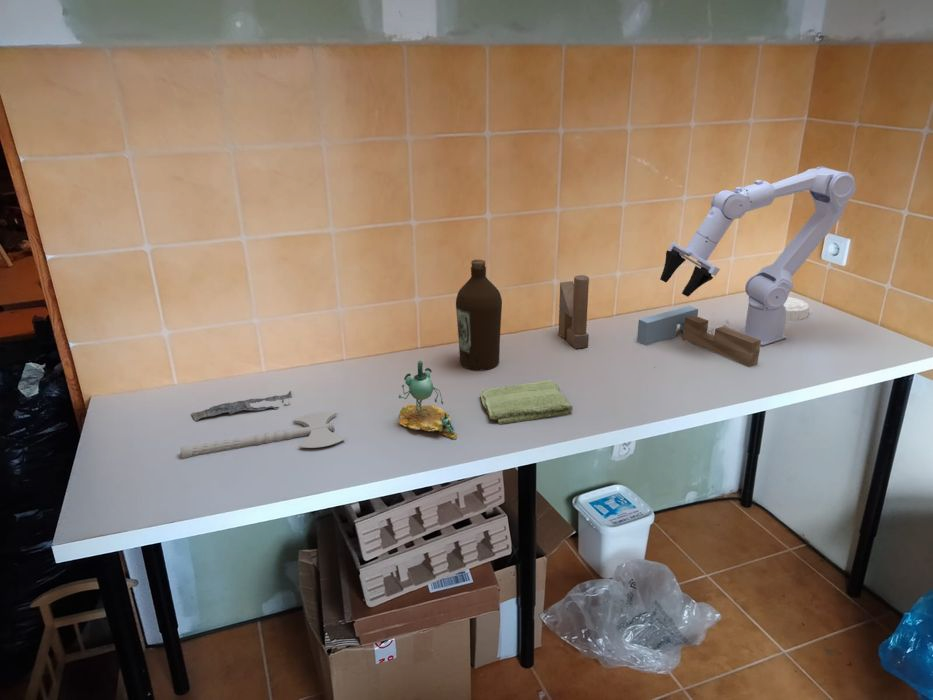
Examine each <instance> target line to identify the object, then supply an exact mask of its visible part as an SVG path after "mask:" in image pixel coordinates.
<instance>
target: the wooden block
mask: <svg viewBox="0 0 933 700" xmlns="http://www.w3.org/2000/svg"><path fill="white" fill-rule="evenodd" d="M589 284H590V277H589V276H587V275H582V274H580V275H575V276H574V277H573V281H561V282H560V283H559V304H558V305H559V307H558V308H559V310H558V335H559V336H560V337H561V338H562V339H566V342H567V343H568V344H569V345H571V347H573V348H574V350H575V349H576V350H577V349H583V348H588V347H589V338H590V337H589V336H590V335H589V333H587V321H588V307H589V306H588V305H589V304H588V303H589Z"/></svg>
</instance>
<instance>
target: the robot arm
mask: <svg viewBox="0 0 933 700" xmlns="http://www.w3.org/2000/svg"><path fill="white" fill-rule="evenodd" d="M855 181H856V180H855V178H854V176H853V174H851V173H850V172H847V171H840V170H836V169H832V168H828V167H826V166H817V167H816V168H809V169H807V170H805V171H803V172H801V173H798V174H795V175H793V176H790V177H788V178H784V179H781V180H779V181H776V182H773V183H770V182H768V181H766V180H761V179H757V180H754V183H752V184H749V185H746V186H743V187H741V186H736V187H735V188H734V189H733V190H727V189H724V190H722V191H719V192H718V193H717V194H715V195H713V196H712V198H711V200H710V209H709V211H708V212H707V214H706V216H705V218H704V219H703V221H702V222H701V223H700V226H699V227H698V228H697V230H696V232H695V233H694V235H693V236H692V237H691V239H690V241H689V242H688V244H687V245H686V247H683V246H681V245H679V244H678V243H676V242H674V241H672V242H671V243H670V245H669V246H668V249H669V250H668V249H666V252H665V262H664V266H663V269H662V273H661V275H660V277H659V278H660V279H659V280H661V281H662V282H664V283H667V282H668V281H669V280H670V279H671V278H672V276H673V274H674V273H675V272H676V271H677V270H678V268H679V267H680V266H681V265H682V264H684V263H685V262H686V260H687V261H689V262H691V263H692V264H694V269H693V271H692V274H691V276H690V279H689V280H688V281H687V284H685V287H684V288H683V289H682V292H681V294H682V295H684V296H685V297H688V298H689V297H690V296H691V295H692V294H693V293H694V292H695V291H696V290H697V289H698V288H700V287H701V286H703V285H705V284H706V283H708V282H710V281H711V280H713V279H714V277H716V276H718V273H719V272H720V271H721V268H719V267H717V266H715V265H713V264H712V263H710V262H708V259H709V258H710V257H711V255H712V253H713V252H714V250H716V249H715V248H716V247H717V245H718V244H719V243H720V241H721V240H722V238H723V237H724V235H725V234H726V232H727V231H728V229H729V228H730V226H731V225H732V223H733V222H734V220H736V219H739V220H740V219H741V218H742V217H743V216H744V215H746V213H747V212H751V211H755V210H757V209H760V208H765V207H767V206H771V205H772V204H773V202H774V201H775V199H776V198H780V197H784V196H789V195H792V194H796V193H800V192H804V191H805V192H806V191H808V192H809V194H810V196H811V198H812V201H813V204H814V208H815V211H814V212H813V214H812V215H811V216H810V217H809V219H808V220H807V221H806V222H805V223H804V225H803V226H802V227H801V228H800V230H799V231H798V232H797V233H796V234H795V236H794V237H793V239H792V240H791V241H790V242H789V243H788V244H787V246H786V247H785V248H784V250H782V252H781V253H780V254H779V256H778V257H777V258H776V259H775V261H774V262H773V263H772V264H769V265H766V266H763V267H762V268H761V269H760V270H759V271H758V272H757V273H755V274H753V275H752V276H751V277H749V278H748V279H747V281H746V282H745V286H744V287H745V289H744V290H745V293H746V295H747V296H748V307H747V311H746V313H747V314H746V319H745V325H744V331H743V332H741V333H743V334H746V335H749V336H751V337H754V338H757V339H759V340H761V344H760V346H762V347H763V346H765V345H769V344H771V343H775V342H777V341H780V340H784V339H786V338H787V336H786V335H784V331H785V326H786V325H785V324H786V321H787V320H786V314H787V313H786V309H785V307H784V305H783V304H784V303H785V302H786V300H787V298H788V296H789V294H790V293H791V291H792V290H793V289H794V283H793V277H794V276H795V274H796V272H798V270H799V269H800V268H801V267H802V265H803V264H804V263H805V262H806V261H807V260H808V259H809V257H810V256H811V254H812V253H813V252H814V251H815V250H816V249H817V247H818V246H819V245H820V244H821V242H822V241H823V240H824V238H826V237H827V235H828V234H829V233H830V231H831V230H832V229H833V228H834V227H835V226H836V225H837V224H838V222H839V221H840V220H841V218H842V216H843V214H844V212H845V209H846V207H847V205H848V202H849V201H850V200H851V198H852V197H853V196H854V195H855V193H856V183H855ZM690 257H692V258H693V259H695V260H697V261H695V260H693V259H691V258H690ZM713 276H714V277H713Z"/></svg>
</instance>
